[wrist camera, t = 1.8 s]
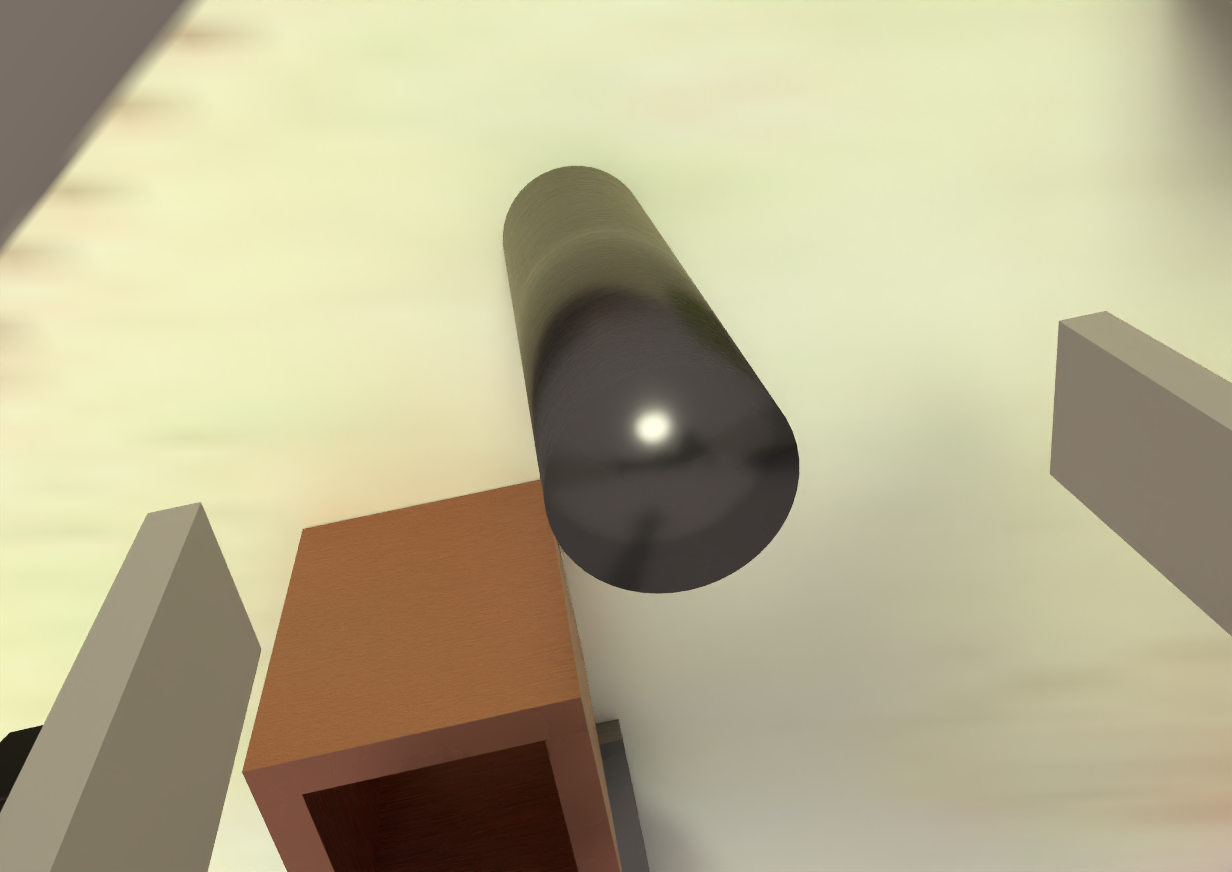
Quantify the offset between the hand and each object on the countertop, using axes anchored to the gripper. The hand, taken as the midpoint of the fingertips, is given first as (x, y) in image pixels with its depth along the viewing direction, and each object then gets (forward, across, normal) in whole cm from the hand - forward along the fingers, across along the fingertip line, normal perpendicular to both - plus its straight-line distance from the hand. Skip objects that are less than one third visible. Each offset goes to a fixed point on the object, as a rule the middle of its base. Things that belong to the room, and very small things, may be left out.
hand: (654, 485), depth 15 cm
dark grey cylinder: (+14, 0, 0) cm, 14 cm away
